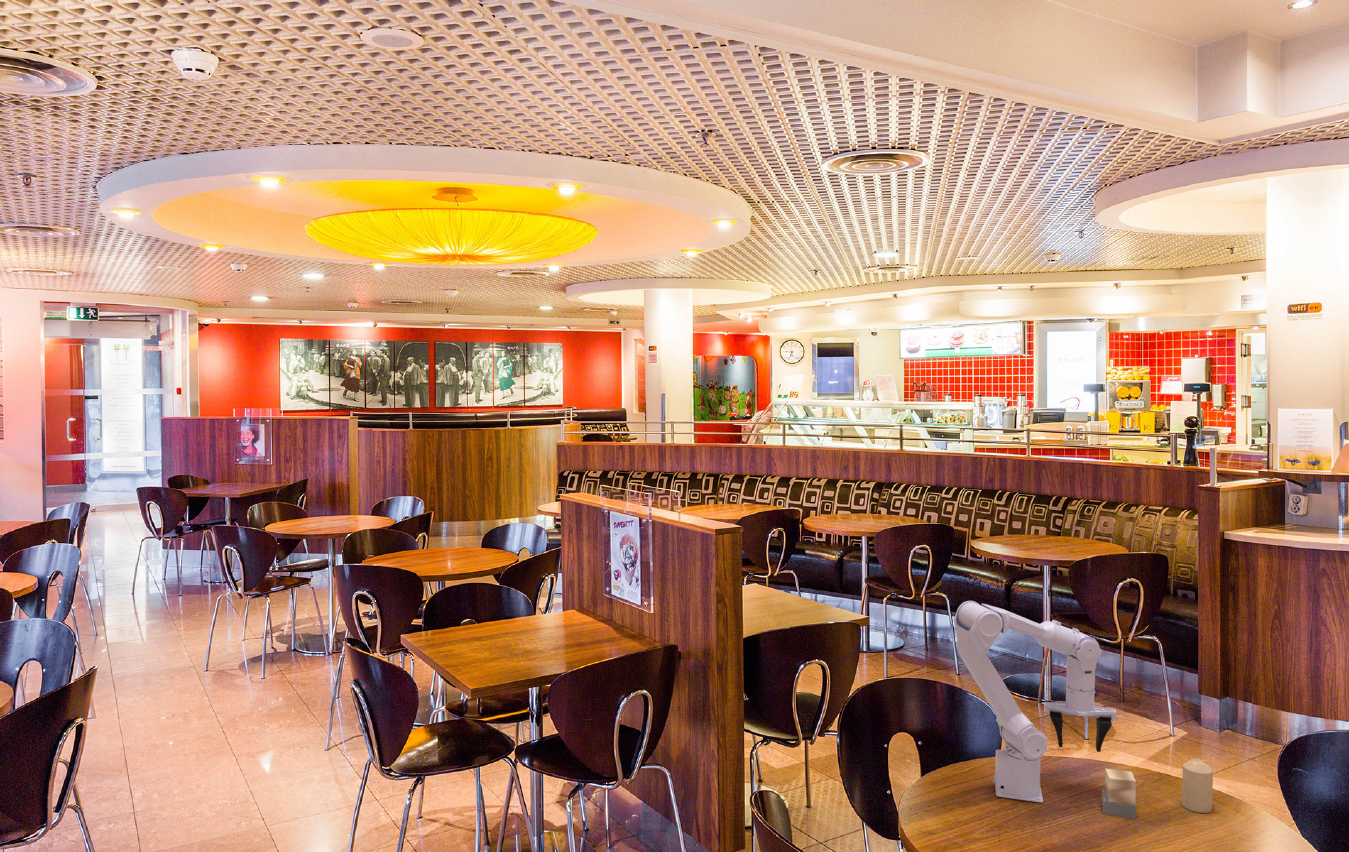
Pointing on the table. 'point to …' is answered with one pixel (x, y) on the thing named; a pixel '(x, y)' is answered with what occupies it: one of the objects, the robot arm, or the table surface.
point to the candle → (1197, 786)
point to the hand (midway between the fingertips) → (1079, 747)
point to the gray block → (1117, 808)
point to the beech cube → (1120, 786)
